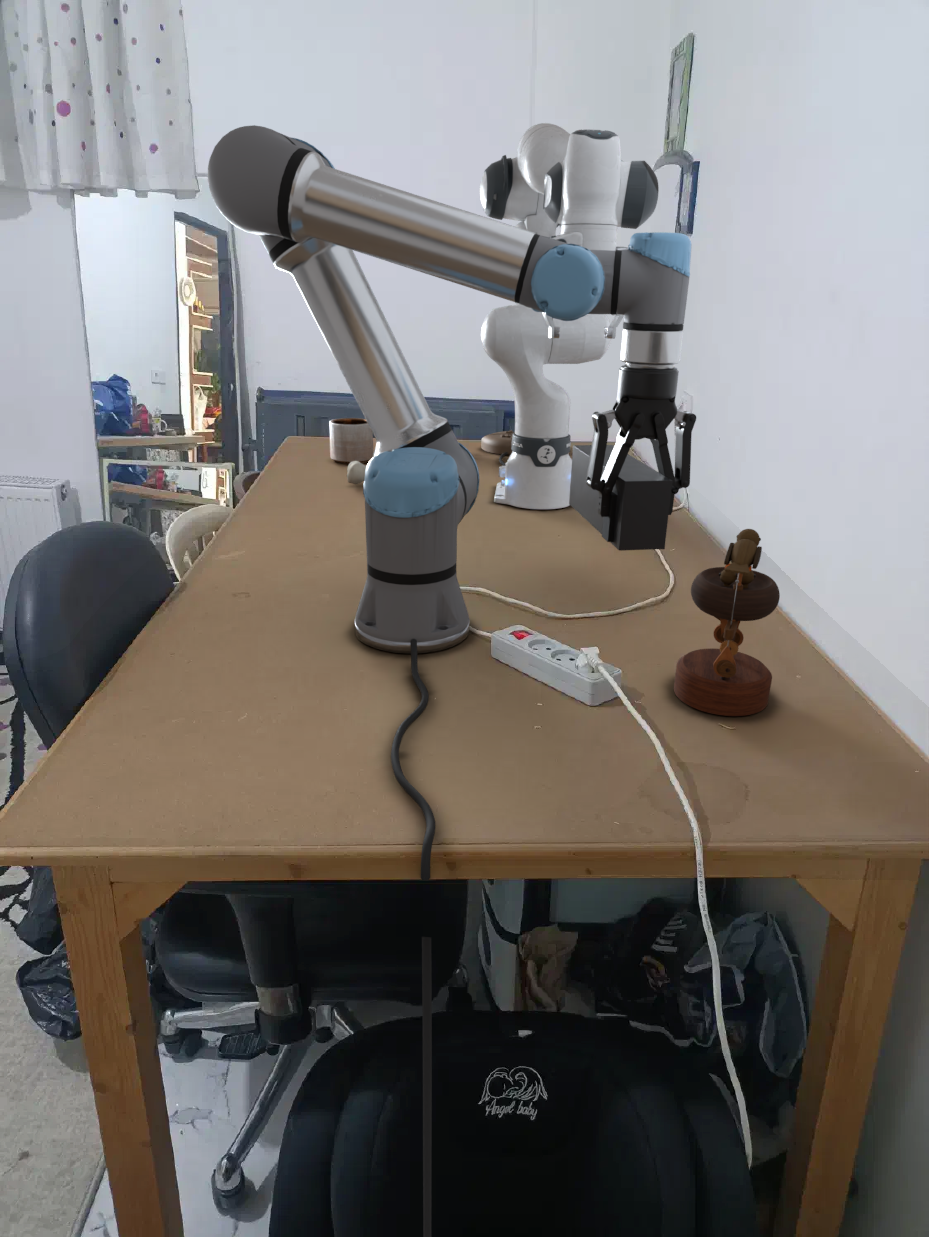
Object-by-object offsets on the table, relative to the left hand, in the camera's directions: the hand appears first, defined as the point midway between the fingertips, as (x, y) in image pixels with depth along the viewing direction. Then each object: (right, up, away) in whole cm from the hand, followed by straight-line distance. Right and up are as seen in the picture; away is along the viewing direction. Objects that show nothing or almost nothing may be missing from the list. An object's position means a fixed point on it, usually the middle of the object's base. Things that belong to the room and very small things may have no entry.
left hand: (632, 538), depth 117 cm
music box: (+6, -20, -19) cm, 28 cm away
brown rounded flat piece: (-8, +33, +108) cm, 113 cm away
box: (-1, +3, +8) cm, 8 cm away
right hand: (-4, +35, +22) cm, 41 cm away
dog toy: (-40, +19, +74) cm, 87 cm away
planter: (-52, +29, +97) cm, 114 cm away
